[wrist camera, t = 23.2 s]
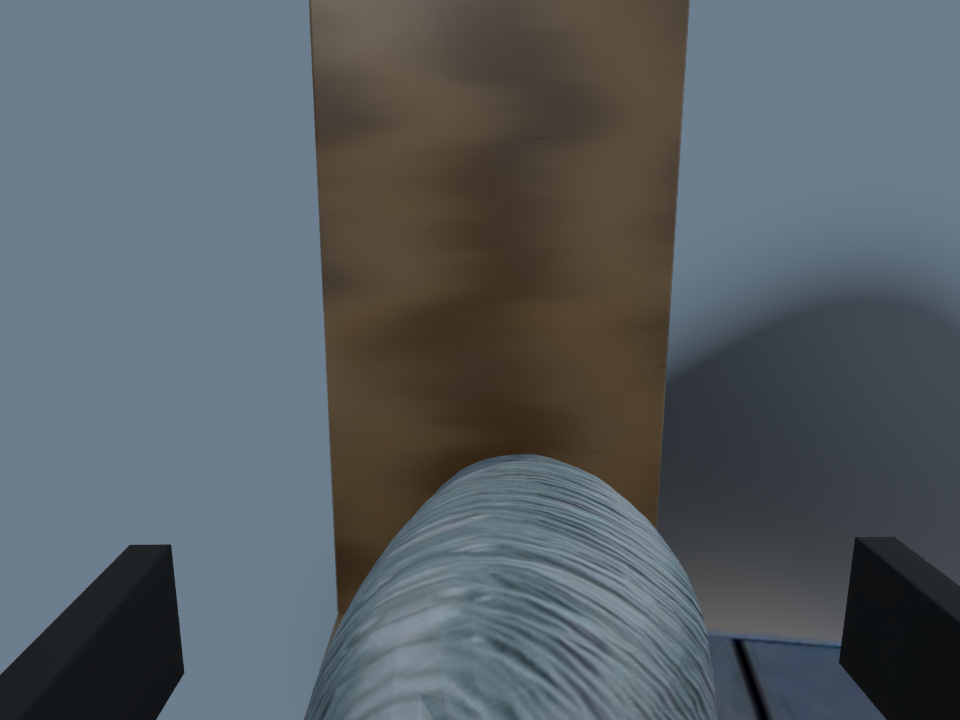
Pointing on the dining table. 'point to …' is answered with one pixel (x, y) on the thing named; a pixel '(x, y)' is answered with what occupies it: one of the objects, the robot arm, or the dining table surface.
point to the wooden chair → (492, 245)
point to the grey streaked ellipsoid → (521, 610)
